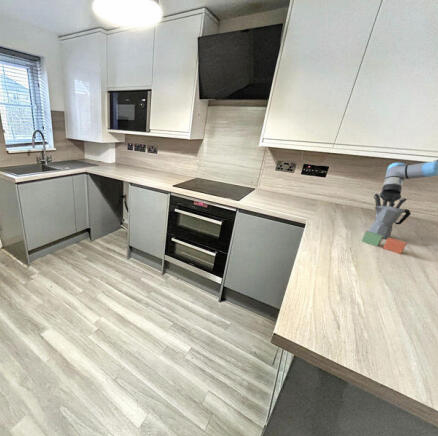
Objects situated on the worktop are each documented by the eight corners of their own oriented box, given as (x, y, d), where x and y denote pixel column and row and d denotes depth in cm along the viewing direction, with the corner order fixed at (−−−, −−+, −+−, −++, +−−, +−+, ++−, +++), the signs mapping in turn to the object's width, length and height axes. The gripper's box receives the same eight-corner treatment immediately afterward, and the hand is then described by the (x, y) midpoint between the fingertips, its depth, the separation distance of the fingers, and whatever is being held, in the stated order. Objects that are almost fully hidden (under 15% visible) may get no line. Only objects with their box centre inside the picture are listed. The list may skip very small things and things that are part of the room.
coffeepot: (368, 237, 121) (383, 203, 114) (358, 230, 129) (371, 198, 123) (404, 242, 117) (422, 208, 111) (391, 234, 126) (407, 202, 119)
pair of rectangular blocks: (402, 252, 106) (407, 242, 104) (400, 254, 105) (405, 244, 103) (363, 239, 117) (367, 230, 115) (361, 241, 115) (365, 231, 113)
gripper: (405, 193, 130) (397, 229, 124) (374, 188, 137) (365, 222, 131) (411, 185, 124) (404, 223, 118) (379, 181, 131) (370, 216, 125)
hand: (383, 222), depth 124 cm, fingers closed
